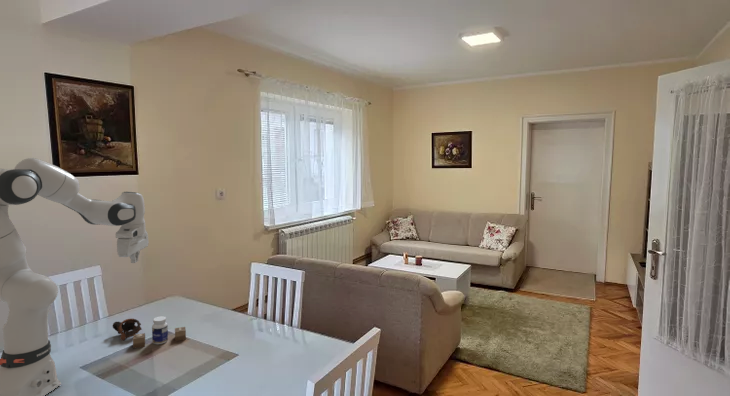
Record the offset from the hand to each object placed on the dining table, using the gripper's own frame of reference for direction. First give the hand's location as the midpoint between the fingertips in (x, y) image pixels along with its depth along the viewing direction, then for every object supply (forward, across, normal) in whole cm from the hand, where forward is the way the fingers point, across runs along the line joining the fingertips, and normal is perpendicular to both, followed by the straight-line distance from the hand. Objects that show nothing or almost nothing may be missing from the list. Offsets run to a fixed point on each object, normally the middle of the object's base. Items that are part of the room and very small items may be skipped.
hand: (134, 262), depth 169 cm
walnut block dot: (+31, +12, +6) cm, 34 cm away
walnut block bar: (+31, +6, +20) cm, 38 cm away
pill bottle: (+31, +9, +13) cm, 35 cm away
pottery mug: (+31, +3, -3) cm, 32 cm away
